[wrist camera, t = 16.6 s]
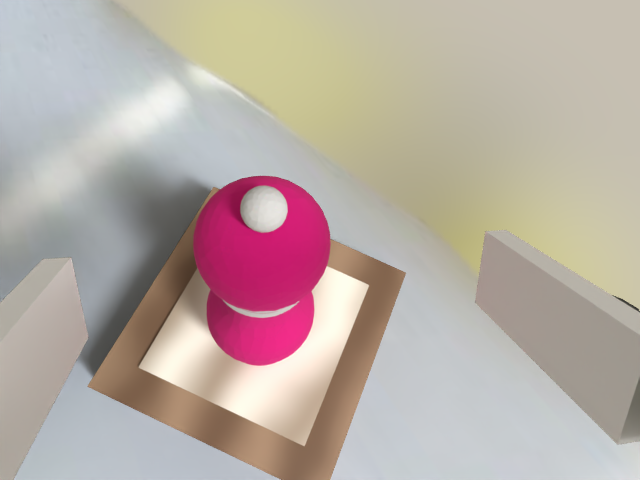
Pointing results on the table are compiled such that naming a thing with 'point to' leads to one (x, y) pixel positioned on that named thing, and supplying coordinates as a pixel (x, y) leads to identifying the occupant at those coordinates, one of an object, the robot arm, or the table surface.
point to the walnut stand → (249, 380)
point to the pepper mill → (261, 266)
